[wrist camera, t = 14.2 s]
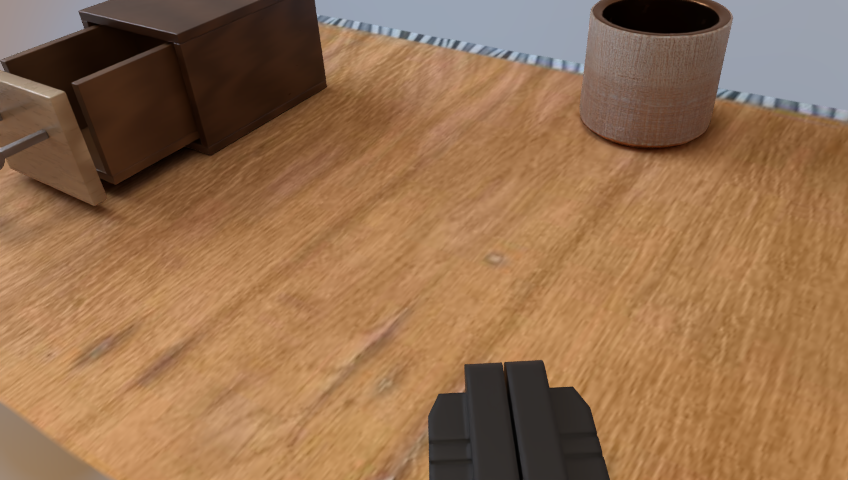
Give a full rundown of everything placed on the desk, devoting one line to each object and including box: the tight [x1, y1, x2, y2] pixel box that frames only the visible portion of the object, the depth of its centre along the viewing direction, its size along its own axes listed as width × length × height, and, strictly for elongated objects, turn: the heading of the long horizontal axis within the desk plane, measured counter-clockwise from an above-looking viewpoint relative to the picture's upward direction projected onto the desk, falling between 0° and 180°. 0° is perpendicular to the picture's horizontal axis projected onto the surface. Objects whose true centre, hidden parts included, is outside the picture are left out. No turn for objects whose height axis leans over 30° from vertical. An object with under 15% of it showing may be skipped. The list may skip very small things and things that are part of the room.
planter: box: [580, 0, 733, 148], centre depth 56 cm, size 11×11×10 cm
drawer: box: [0, 24, 200, 206], centre depth 53 cm, size 20×11×9 cm, turn 147°
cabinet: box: [79, 0, 327, 155], centre depth 62 cm, size 16×13×11 cm
